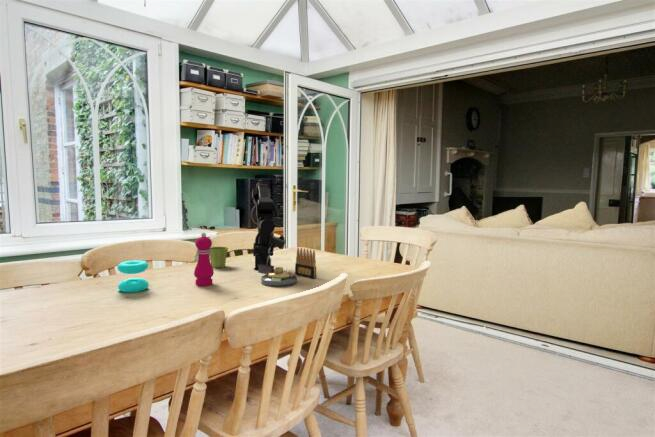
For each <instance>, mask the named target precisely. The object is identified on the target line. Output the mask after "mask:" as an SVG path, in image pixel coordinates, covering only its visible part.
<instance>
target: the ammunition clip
mask: <svg viewBox="0 0 655 437" xmlns="http://www.w3.org/2000/svg"><path fill="white" fill-rule="evenodd" d="M316 263H317V262H316V252H315V250H314V249H313V251H312V249H310V250H309V249H308V248H307V249H306V248H302V247H300V248H299V247H297V250H296V258H295V267H294V270H295V271H294V275H295V276H296V277H297V276H299V277H303V278H308V279H312V280H315V279H317V266H316V265H317V264H316Z"/></svg>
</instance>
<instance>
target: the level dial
mask: <svg viewBox="0 0 655 437" xmlns="http://www.w3.org/2000/svg"><path fill="white" fill-rule="evenodd" d="M257 271H258V272H257V273H259V274H264V275H267V274H268V278H270V279H272V278H281V279H288V278H290V277H291V271H288V270H284V267H281V266H277V267H275V265H272V264H271V265H266V264H258V270H257Z"/></svg>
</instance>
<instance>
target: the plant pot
mask: <svg viewBox="0 0 655 437" xmlns="http://www.w3.org/2000/svg"><path fill="white" fill-rule="evenodd" d="M228 250H229V247H228V246H211V247H210V252H211V253H209V259H210V263H211V265H212V267H213V269H215V268H216V269H217V268H225V266H226V262H227V261H226V260H227V255H228V254H227V253H228Z"/></svg>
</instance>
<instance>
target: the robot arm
mask: <svg viewBox="0 0 655 437" xmlns="http://www.w3.org/2000/svg"><path fill="white" fill-rule="evenodd" d="M251 199H252V200H253V204H254V206H255V208H256V209H255V211H256V218H257V234H256V236H255V238H254V242H253V247H252V255H253V257H254V268H253V270H255V271H256V270H257V271H258V264H266V265H272V258H271V257H273V256H274V251H275V250H274V249H276V248H278V249H279V250H283V249H284V248H285V245H286V242H287V241H286V240H285V236H283V235H280V236H279V237H278V236H275V234H274V231H275V229H276V224H275V223H274V221H273V219H276V218H277V216H278V211H277V206H276V204H275V203H274V201H273V199H272V198H271V188H270V187H269V184H261V183H260V184H256V186H255V187H253V188H252V191H251Z"/></svg>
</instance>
